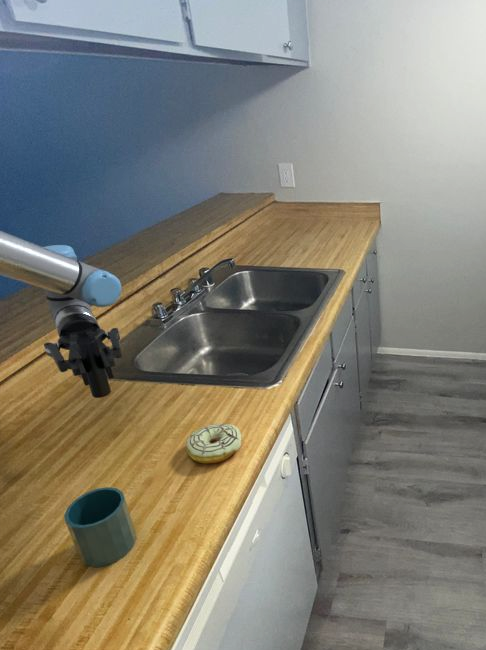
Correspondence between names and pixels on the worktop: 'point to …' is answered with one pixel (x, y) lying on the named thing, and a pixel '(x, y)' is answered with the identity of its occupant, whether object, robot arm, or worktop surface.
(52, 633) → the worktop surface
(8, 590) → the worktop surface
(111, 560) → the cup
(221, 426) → the decorated donut
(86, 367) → the black cylinder
